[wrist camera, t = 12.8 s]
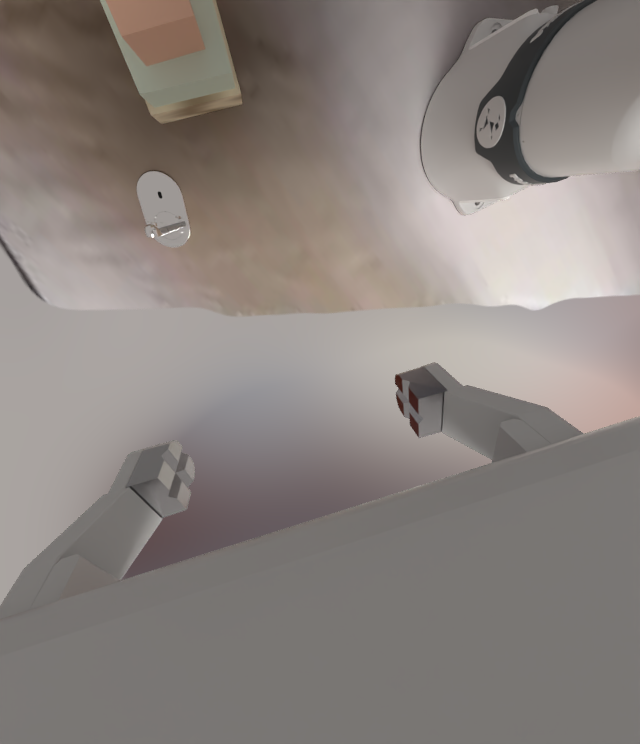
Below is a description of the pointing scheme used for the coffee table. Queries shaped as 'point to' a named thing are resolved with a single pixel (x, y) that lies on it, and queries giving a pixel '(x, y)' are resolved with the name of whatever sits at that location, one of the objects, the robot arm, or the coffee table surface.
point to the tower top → (182, 63)
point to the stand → (163, 209)
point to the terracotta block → (157, 28)
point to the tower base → (201, 103)
